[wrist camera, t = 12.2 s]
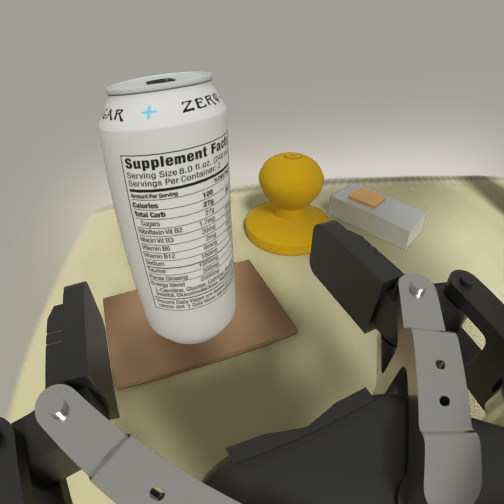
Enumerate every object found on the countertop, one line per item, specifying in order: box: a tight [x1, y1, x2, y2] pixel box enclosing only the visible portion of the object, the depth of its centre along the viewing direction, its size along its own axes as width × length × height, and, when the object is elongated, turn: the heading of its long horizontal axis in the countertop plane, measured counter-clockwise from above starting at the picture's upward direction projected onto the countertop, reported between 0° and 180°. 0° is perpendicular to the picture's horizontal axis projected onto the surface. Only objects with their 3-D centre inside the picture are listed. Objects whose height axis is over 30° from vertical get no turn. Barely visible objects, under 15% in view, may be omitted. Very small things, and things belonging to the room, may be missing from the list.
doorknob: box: [246, 152, 330, 255], centre depth 28 cm, size 8×8×8 cm
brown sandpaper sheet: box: [103, 260, 298, 390], centre depth 22 cm, size 12×8×1 cm, turn 114°
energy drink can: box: [98, 72, 236, 344], centre depth 17 cm, size 6×6×15 cm
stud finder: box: [328, 183, 427, 251], centre depth 31 cm, size 9×5×3 cm, turn 45°
